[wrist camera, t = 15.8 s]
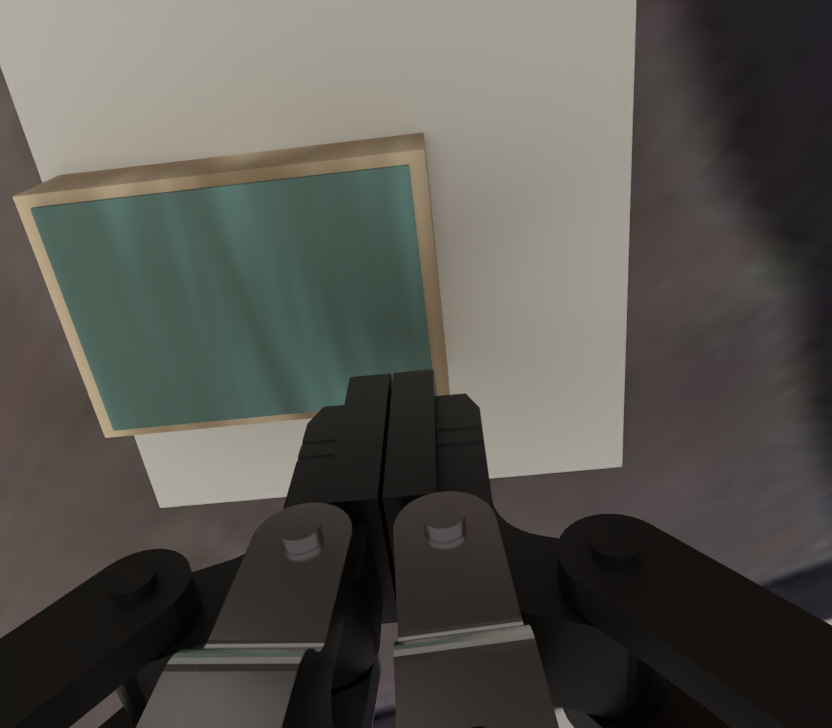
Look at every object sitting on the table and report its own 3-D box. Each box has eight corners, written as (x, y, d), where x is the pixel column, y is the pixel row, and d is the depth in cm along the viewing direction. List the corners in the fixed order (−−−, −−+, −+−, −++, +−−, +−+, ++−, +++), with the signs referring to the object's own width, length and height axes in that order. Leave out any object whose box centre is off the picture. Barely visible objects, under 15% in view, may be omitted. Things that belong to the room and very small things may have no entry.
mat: (634, -97, 16) (639, -99, 16) (619, 459, 23) (622, 466, 23) (-18, -9, 17) (-28, -10, 17) (164, 500, 24) (160, 507, 24)
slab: (424, 150, 16) (9, 198, 16) (451, 407, 19) (103, 440, 20) (423, 132, 18) (59, 175, 19) (447, 365, 21) (135, 395, 22)
